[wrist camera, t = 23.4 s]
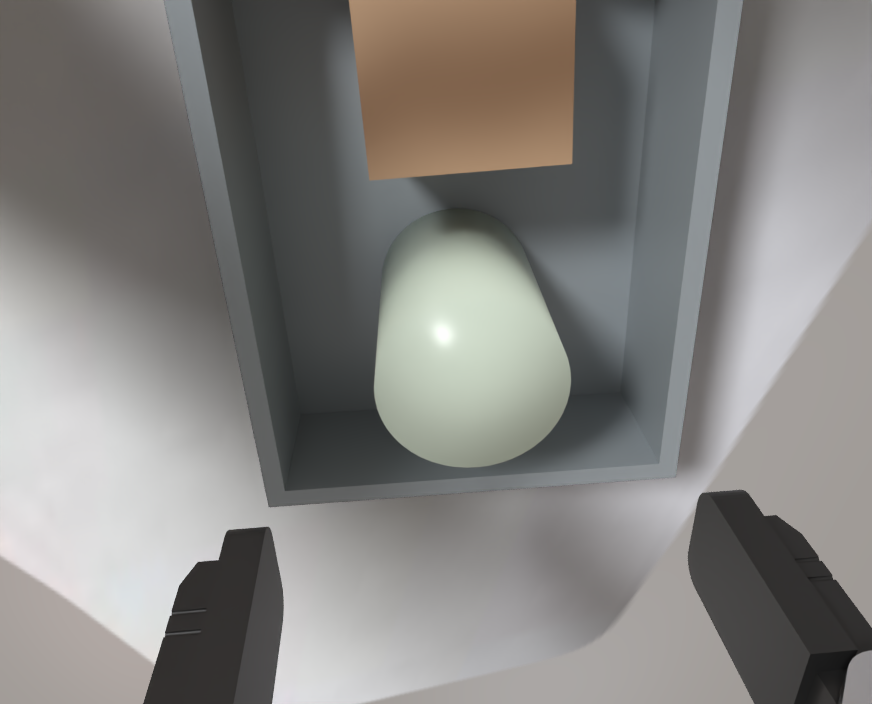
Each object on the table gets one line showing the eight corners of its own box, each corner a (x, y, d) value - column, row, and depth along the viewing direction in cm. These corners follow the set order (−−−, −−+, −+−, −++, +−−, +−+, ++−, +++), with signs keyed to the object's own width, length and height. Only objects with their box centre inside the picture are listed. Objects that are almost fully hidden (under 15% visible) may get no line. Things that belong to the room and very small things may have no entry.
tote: (288, 420, 27) (268, 507, 23) (193, -115, 19) (135, -140, 15) (630, 395, 28) (675, 477, 23) (682, -141, 19) (767, -172, 15)
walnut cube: (353, -50, 19) (342, -54, 15) (535, -64, 20) (577, -72, 15) (374, 137, 22) (369, 180, 17) (536, 124, 22) (572, 164, 18)
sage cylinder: (390, 351, 25) (386, 476, 19) (372, 216, 23) (361, 309, 17) (530, 337, 25) (570, 458, 19) (526, 201, 23) (571, 289, 17)
